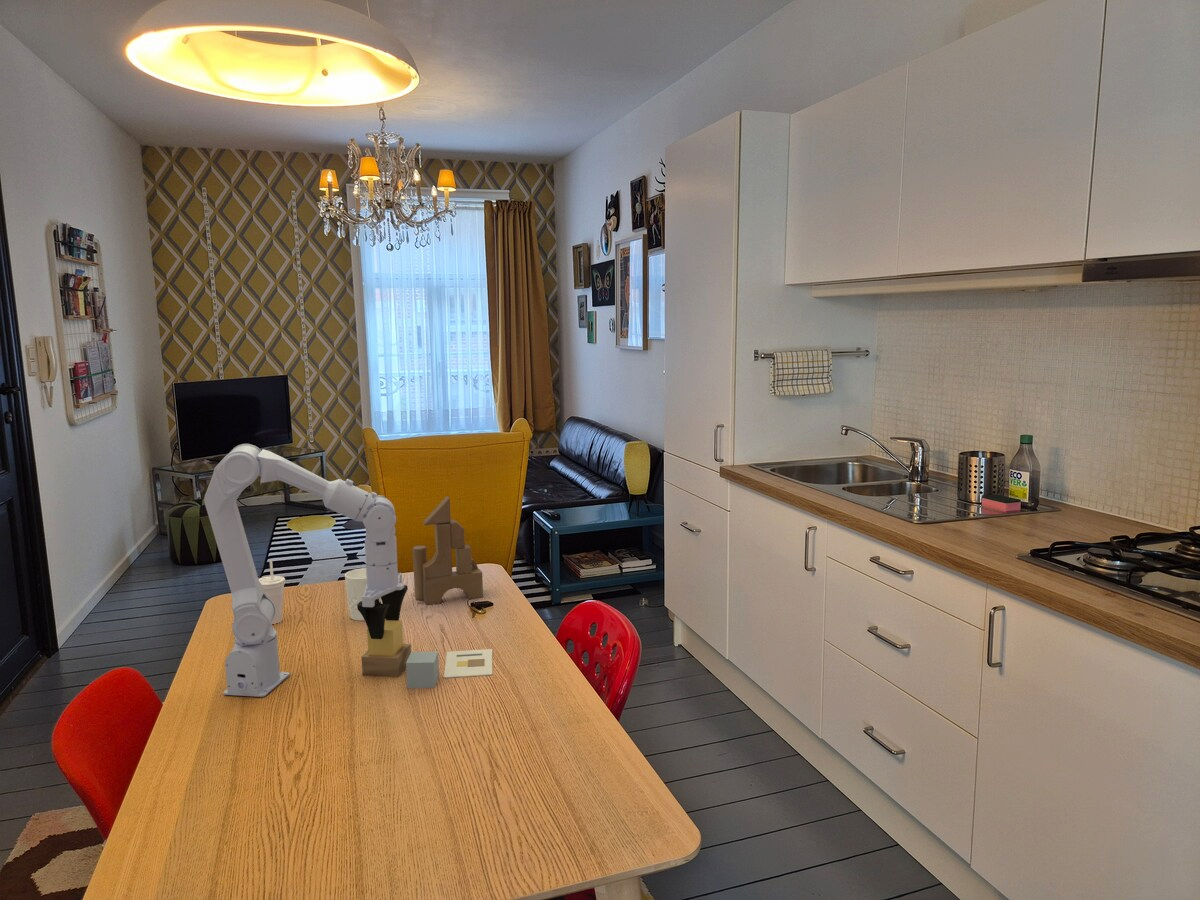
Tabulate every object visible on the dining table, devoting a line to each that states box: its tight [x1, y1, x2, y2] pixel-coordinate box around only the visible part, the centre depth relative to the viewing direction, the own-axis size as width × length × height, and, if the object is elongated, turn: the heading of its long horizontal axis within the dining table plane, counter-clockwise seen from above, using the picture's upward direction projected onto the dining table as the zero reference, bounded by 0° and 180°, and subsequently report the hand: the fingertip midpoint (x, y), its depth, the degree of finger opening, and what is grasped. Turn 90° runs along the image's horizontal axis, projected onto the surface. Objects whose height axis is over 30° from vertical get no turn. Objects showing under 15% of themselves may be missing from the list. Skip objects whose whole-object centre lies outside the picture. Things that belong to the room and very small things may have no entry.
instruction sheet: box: [443, 648, 493, 679], centre depth 160 cm, size 12×9×1 cm
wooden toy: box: [412, 495, 484, 606], centre depth 196 cm, size 16×7×25 cm, turn 111°
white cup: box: [344, 567, 382, 622], centre depth 186 cm, size 8×8×10 cm
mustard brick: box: [366, 619, 404, 656], centre depth 157 cm, size 5×5×5 cm
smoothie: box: [258, 560, 286, 625], centre depth 182 cm, size 6×6×14 cm
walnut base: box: [361, 643, 412, 678], centre depth 158 cm, size 7×7×4 cm
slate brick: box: [405, 650, 440, 690], centre depth 151 cm, size 5×5×5 cm
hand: (384, 630), depth 157 cm, fingers open, 7 cm apart
